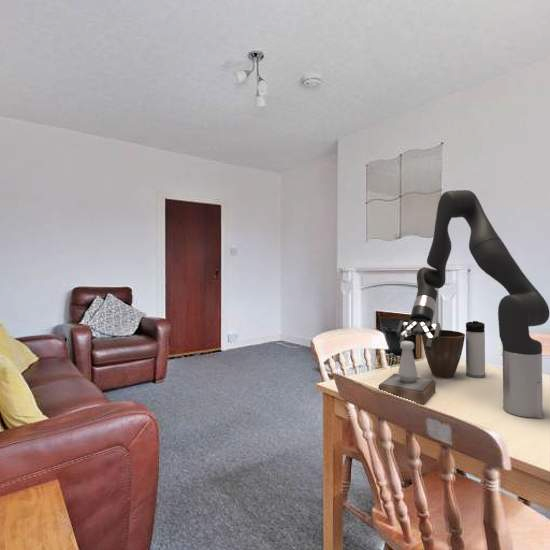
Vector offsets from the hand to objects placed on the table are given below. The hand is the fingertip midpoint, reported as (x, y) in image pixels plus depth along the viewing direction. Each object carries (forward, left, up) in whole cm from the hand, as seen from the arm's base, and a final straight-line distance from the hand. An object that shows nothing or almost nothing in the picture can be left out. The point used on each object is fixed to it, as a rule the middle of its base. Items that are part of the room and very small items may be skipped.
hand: (414, 347), depth 127 cm
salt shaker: (0, +8, -10) cm, 13 cm away
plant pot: (-5, -18, -14) cm, 23 cm away
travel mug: (-15, -24, -14) cm, 32 cm away
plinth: (0, +9, -13) cm, 16 cm away
